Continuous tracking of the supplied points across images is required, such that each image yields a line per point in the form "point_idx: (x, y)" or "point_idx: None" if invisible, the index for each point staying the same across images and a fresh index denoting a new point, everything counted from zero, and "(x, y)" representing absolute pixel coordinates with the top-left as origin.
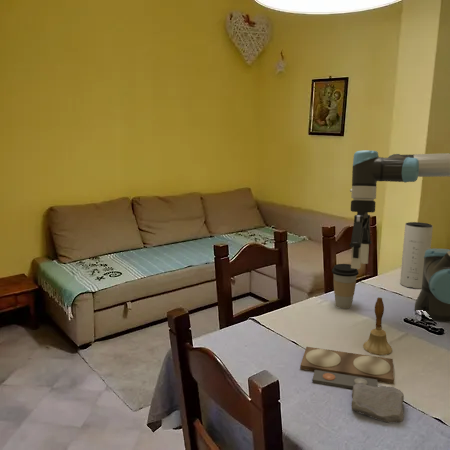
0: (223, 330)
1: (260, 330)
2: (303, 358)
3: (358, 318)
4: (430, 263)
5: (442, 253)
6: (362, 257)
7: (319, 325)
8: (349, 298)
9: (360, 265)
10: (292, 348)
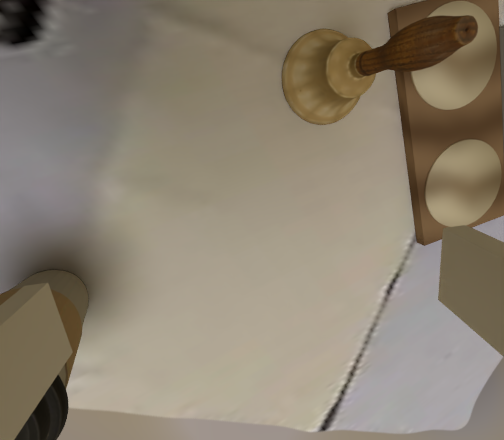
0: (406, 432)
1: (370, 378)
2: (478, 223)
3: (136, 207)
4: None
5: None
6: (28, 373)
7: (266, 284)
8: (59, 289)
9: (464, 239)
10: (420, 272)
